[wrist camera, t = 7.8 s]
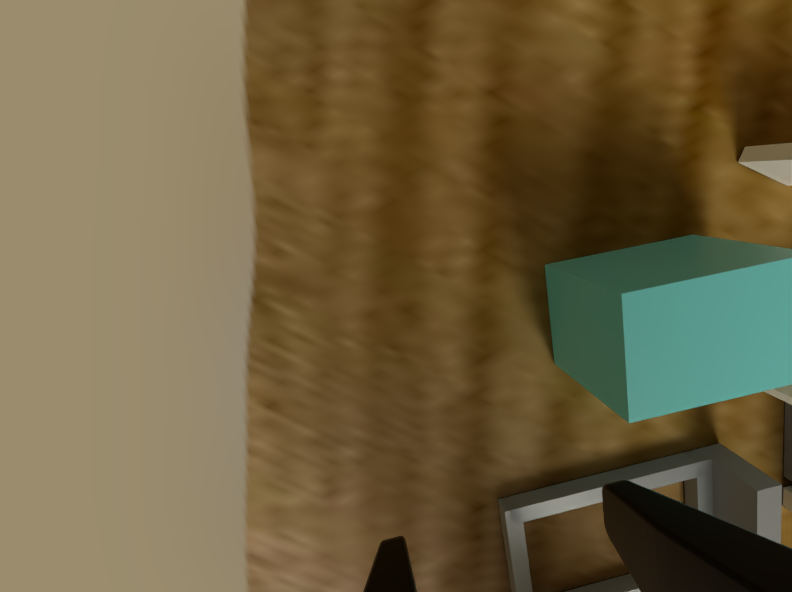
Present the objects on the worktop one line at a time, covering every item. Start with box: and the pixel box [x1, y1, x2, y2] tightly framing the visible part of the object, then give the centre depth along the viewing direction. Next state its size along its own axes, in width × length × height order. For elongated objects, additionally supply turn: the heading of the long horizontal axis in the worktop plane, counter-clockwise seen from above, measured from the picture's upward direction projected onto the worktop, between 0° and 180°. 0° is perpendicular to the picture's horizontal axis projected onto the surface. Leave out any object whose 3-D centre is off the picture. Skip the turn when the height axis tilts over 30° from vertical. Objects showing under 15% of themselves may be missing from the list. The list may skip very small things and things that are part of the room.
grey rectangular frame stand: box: [498, 443, 782, 592], centre depth 20 cm, size 10×6×3 cm, turn 100°
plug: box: [545, 235, 792, 423], centre depth 17 cm, size 7×4×5 cm, turn 100°
